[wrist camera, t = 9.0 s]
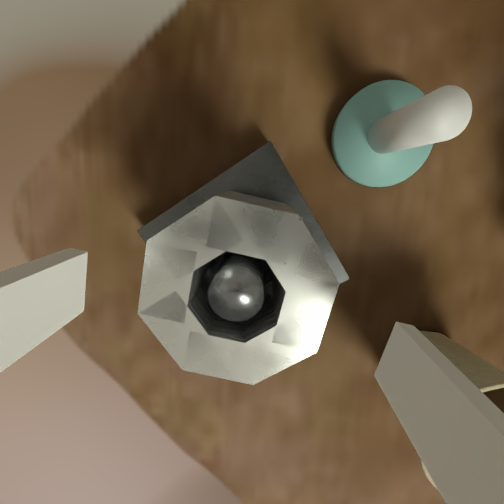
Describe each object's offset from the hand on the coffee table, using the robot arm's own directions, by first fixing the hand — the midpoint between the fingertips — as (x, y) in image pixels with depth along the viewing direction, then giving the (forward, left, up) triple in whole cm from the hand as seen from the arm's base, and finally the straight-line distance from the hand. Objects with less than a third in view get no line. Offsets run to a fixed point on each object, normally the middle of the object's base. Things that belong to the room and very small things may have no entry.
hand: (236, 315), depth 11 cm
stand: (-13, -2, -12) cm, 17 cm away
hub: (0, 0, -12) cm, 12 cm away
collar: (0, 0, -8) cm, 8 cm away
